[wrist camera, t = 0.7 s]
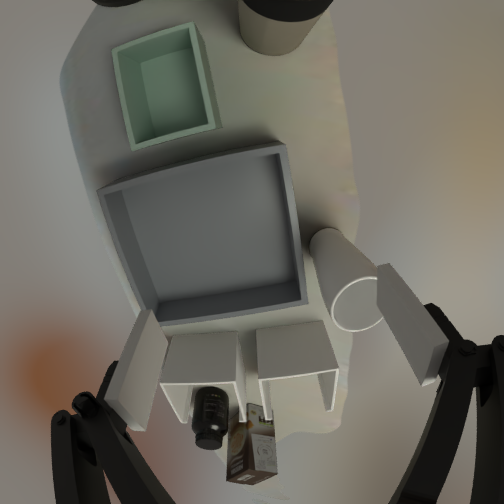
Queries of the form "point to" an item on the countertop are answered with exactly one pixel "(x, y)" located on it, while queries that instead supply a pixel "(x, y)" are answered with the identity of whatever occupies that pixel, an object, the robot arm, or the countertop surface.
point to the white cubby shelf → (232, 366)
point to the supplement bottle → (210, 417)
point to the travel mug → (278, 23)
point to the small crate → (165, 86)
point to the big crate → (210, 235)
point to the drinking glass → (345, 281)
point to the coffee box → (251, 448)
